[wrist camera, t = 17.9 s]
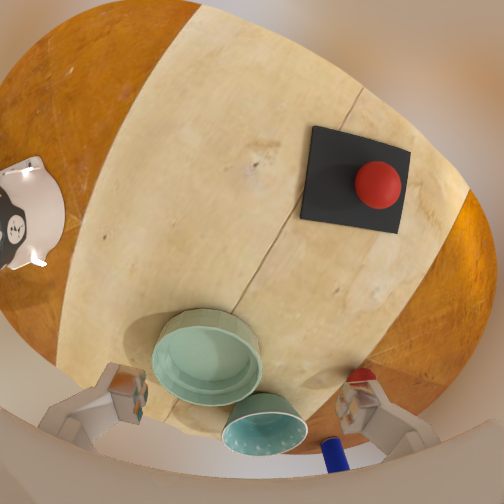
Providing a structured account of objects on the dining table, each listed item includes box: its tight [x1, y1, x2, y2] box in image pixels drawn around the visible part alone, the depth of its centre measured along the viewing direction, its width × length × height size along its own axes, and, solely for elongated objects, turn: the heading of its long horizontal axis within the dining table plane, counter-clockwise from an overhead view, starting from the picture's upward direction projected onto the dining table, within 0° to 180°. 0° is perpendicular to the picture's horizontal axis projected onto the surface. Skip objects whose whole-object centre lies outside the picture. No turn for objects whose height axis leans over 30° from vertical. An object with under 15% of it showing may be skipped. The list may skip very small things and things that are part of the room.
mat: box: [300, 126, 411, 234], centre depth 36 cm, size 16×13×1 cm
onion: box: [346, 368, 376, 382], centre depth 43 cm, size 6×6×8 cm
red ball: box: [355, 161, 401, 209], centre depth 32 cm, size 6×6×6 cm
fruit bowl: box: [151, 308, 263, 407], centre depth 41 cm, size 17×17×6 cm
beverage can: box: [321, 437, 350, 474], centre depth 48 cm, size 5×5×15 cm
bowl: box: [221, 393, 308, 457], centre depth 44 cm, size 16×16×8 cm
